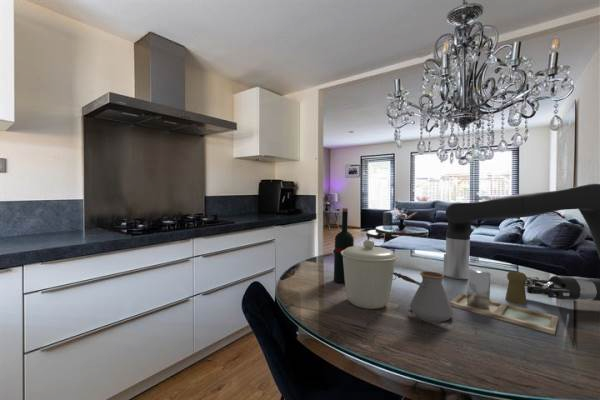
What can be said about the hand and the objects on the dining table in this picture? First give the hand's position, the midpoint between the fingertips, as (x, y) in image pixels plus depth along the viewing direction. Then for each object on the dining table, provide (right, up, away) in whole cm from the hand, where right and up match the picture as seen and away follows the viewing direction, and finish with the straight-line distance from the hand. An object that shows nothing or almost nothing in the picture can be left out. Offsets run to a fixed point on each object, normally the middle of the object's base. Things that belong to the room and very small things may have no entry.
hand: (518, 285), depth 93 cm
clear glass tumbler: (-17, -5, -5) cm, 18 cm away
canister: (-51, -6, -1) cm, 52 cm away
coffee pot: (-39, -6, -13) cm, 42 cm away
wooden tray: (-13, -6, -9) cm, 17 cm away
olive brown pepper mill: (-1, -7, 0) cm, 7 cm away
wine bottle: (-55, -5, +20) cm, 59 cm away
